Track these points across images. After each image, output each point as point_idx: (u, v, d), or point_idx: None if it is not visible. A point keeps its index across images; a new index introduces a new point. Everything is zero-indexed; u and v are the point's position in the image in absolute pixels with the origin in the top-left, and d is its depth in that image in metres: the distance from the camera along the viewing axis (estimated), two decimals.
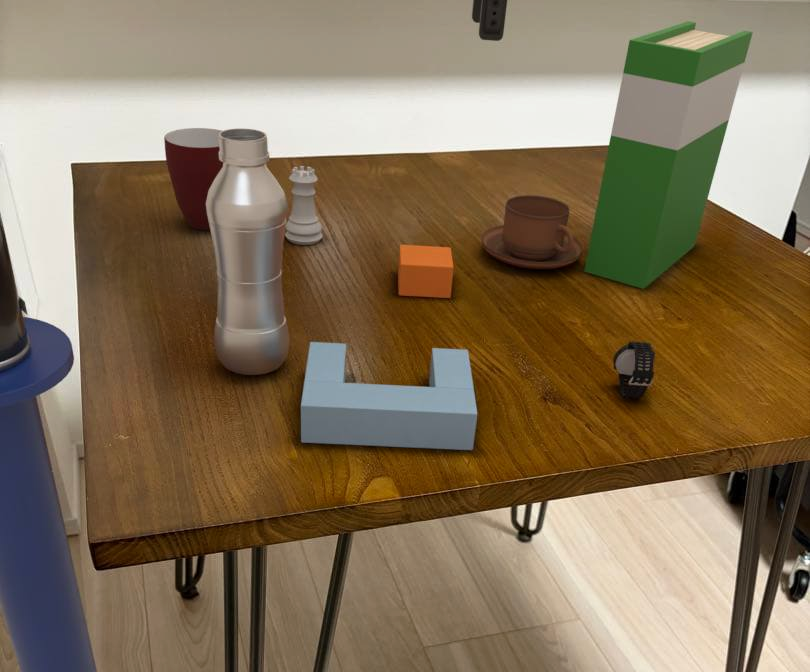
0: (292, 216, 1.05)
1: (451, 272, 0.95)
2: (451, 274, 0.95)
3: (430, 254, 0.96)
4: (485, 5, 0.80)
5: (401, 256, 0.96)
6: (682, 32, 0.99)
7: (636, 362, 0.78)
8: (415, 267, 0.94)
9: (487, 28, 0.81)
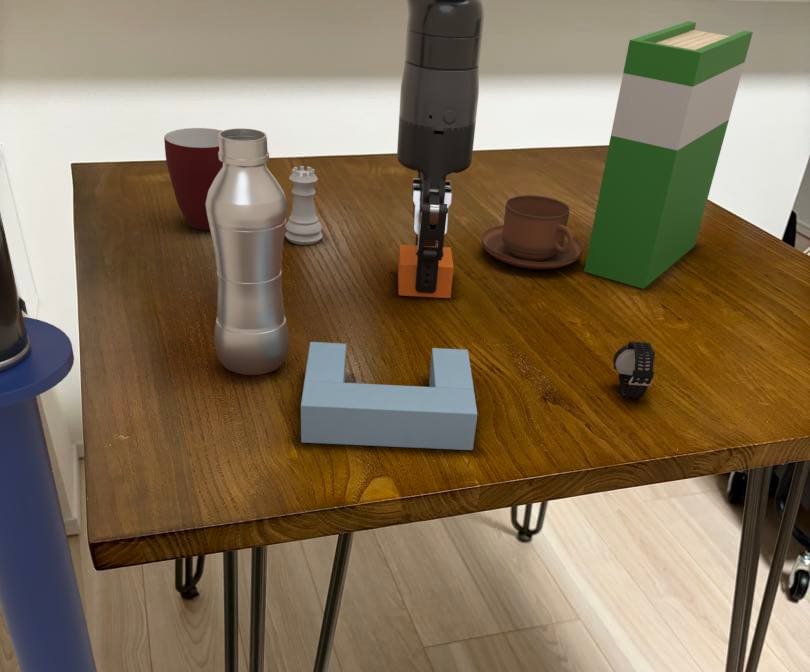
0: (292, 216, 1.05)
1: (451, 272, 0.95)
2: (451, 274, 0.95)
3: None
4: (419, 267, 0.94)
5: (401, 256, 0.96)
6: (682, 32, 0.99)
7: (636, 362, 0.78)
8: (415, 267, 0.94)
9: (422, 285, 0.94)
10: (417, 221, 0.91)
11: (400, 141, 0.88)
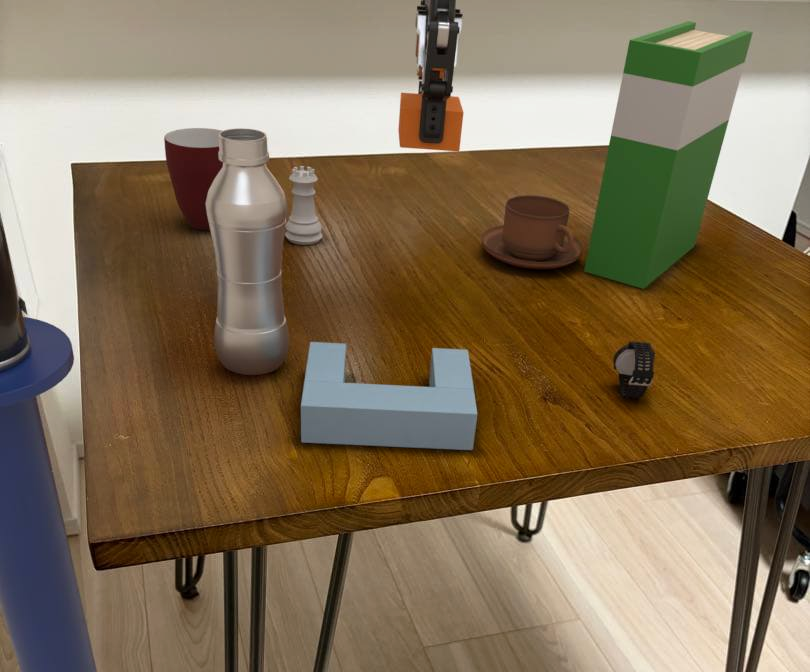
0: (292, 216, 1.05)
1: (461, 118, 0.82)
2: (461, 120, 0.82)
3: None
4: (424, 110, 0.81)
5: (403, 101, 0.83)
6: (682, 32, 0.99)
7: (636, 362, 0.78)
8: (419, 112, 0.82)
9: (427, 132, 0.81)
10: (422, 51, 0.78)
11: None
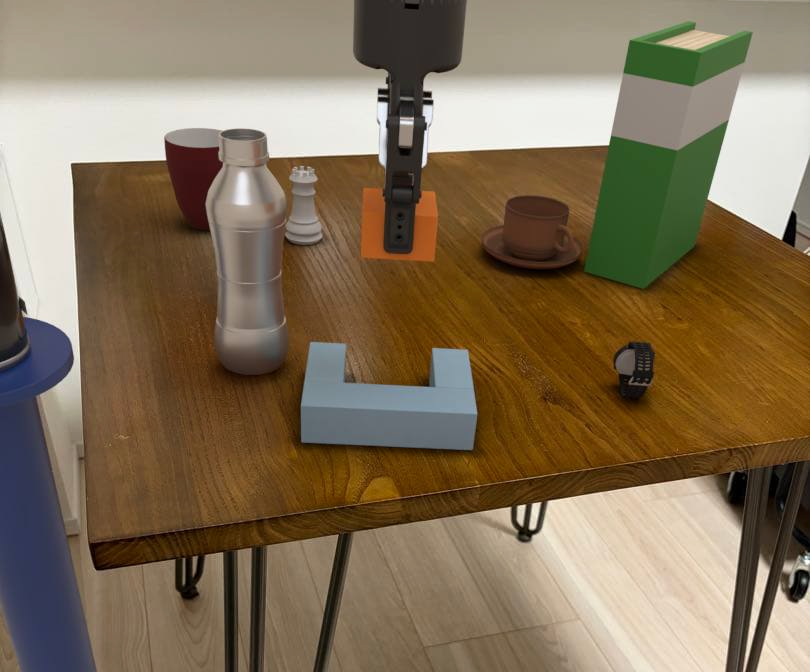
0: (292, 216, 1.05)
1: (435, 224, 0.66)
2: (435, 226, 0.66)
3: None
4: (388, 216, 0.65)
5: (364, 202, 0.67)
6: (682, 32, 0.99)
7: (636, 362, 0.78)
8: (383, 217, 0.66)
9: (392, 243, 0.66)
10: (383, 147, 0.63)
11: (356, 25, 0.60)
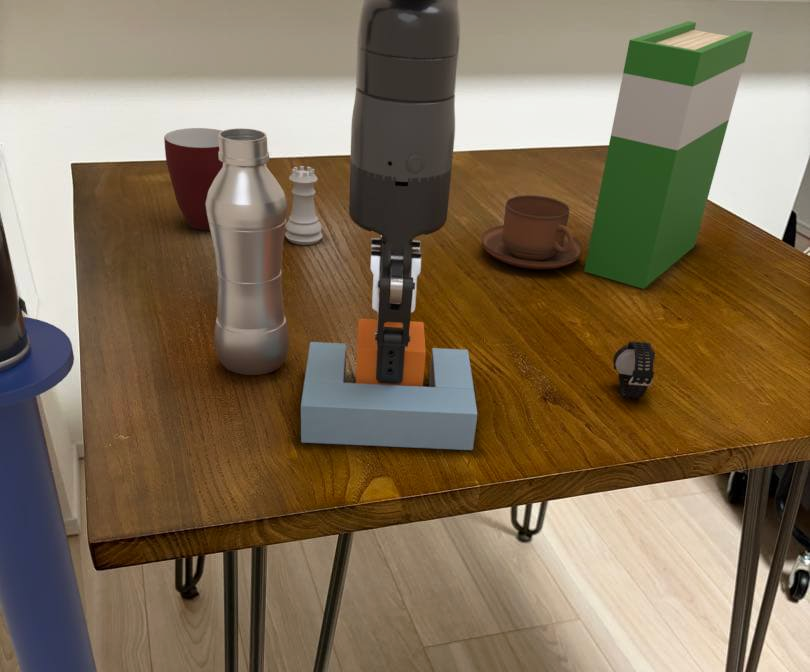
0: (292, 216, 1.05)
1: (423, 358, 0.73)
2: (423, 360, 0.73)
3: None
4: (381, 352, 0.72)
5: (359, 336, 0.74)
6: (682, 32, 0.99)
7: (636, 362, 0.78)
8: (376, 352, 0.73)
9: (384, 375, 0.73)
10: (376, 295, 0.70)
11: (352, 193, 0.66)
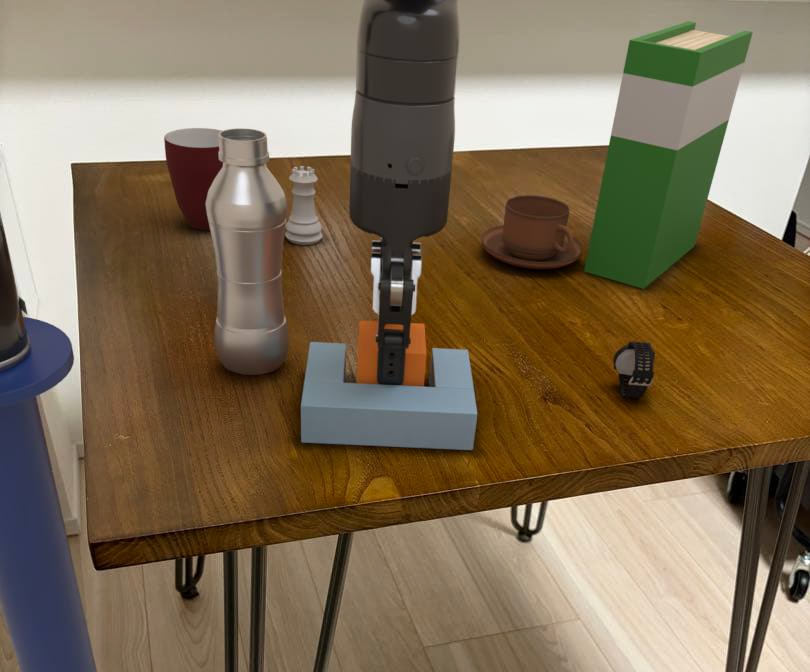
0: (292, 216, 1.05)
1: (423, 360, 0.73)
2: (424, 362, 0.73)
3: None
4: (381, 355, 0.72)
5: (359, 338, 0.74)
6: (682, 32, 0.99)
7: (636, 362, 0.78)
8: (376, 354, 0.73)
9: (384, 377, 0.73)
10: (377, 297, 0.70)
11: (352, 195, 0.66)
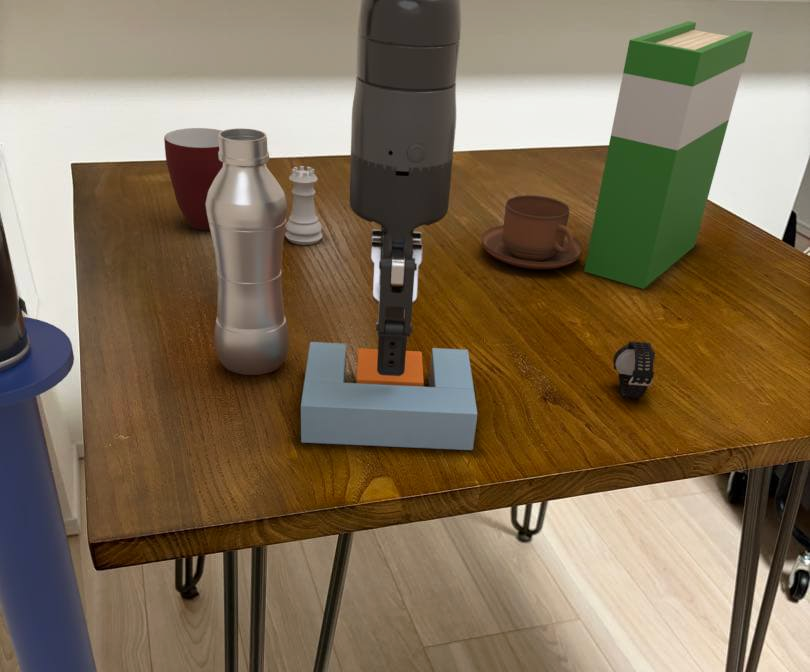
0: (292, 216, 1.05)
1: None
2: None
3: None
4: (382, 344, 0.70)
5: (358, 366, 0.76)
6: (682, 32, 0.99)
7: (636, 362, 0.78)
8: (375, 383, 0.74)
9: (385, 367, 0.71)
10: None
11: (352, 183, 0.66)
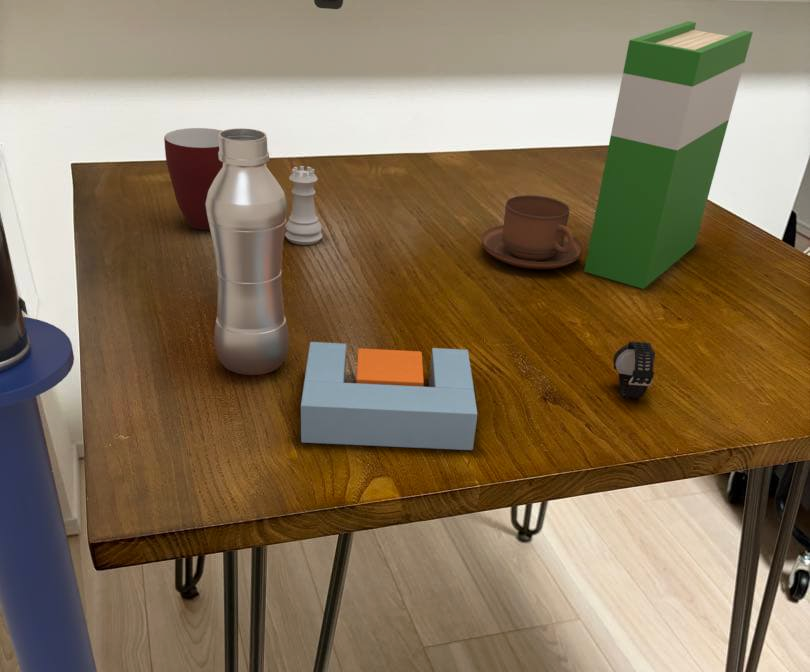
0: (292, 216, 1.05)
1: None
2: None
3: (394, 363, 0.77)
4: None
5: (358, 366, 0.76)
6: (682, 32, 0.99)
7: (636, 362, 0.78)
8: (375, 383, 0.74)
9: None
10: None
11: None
